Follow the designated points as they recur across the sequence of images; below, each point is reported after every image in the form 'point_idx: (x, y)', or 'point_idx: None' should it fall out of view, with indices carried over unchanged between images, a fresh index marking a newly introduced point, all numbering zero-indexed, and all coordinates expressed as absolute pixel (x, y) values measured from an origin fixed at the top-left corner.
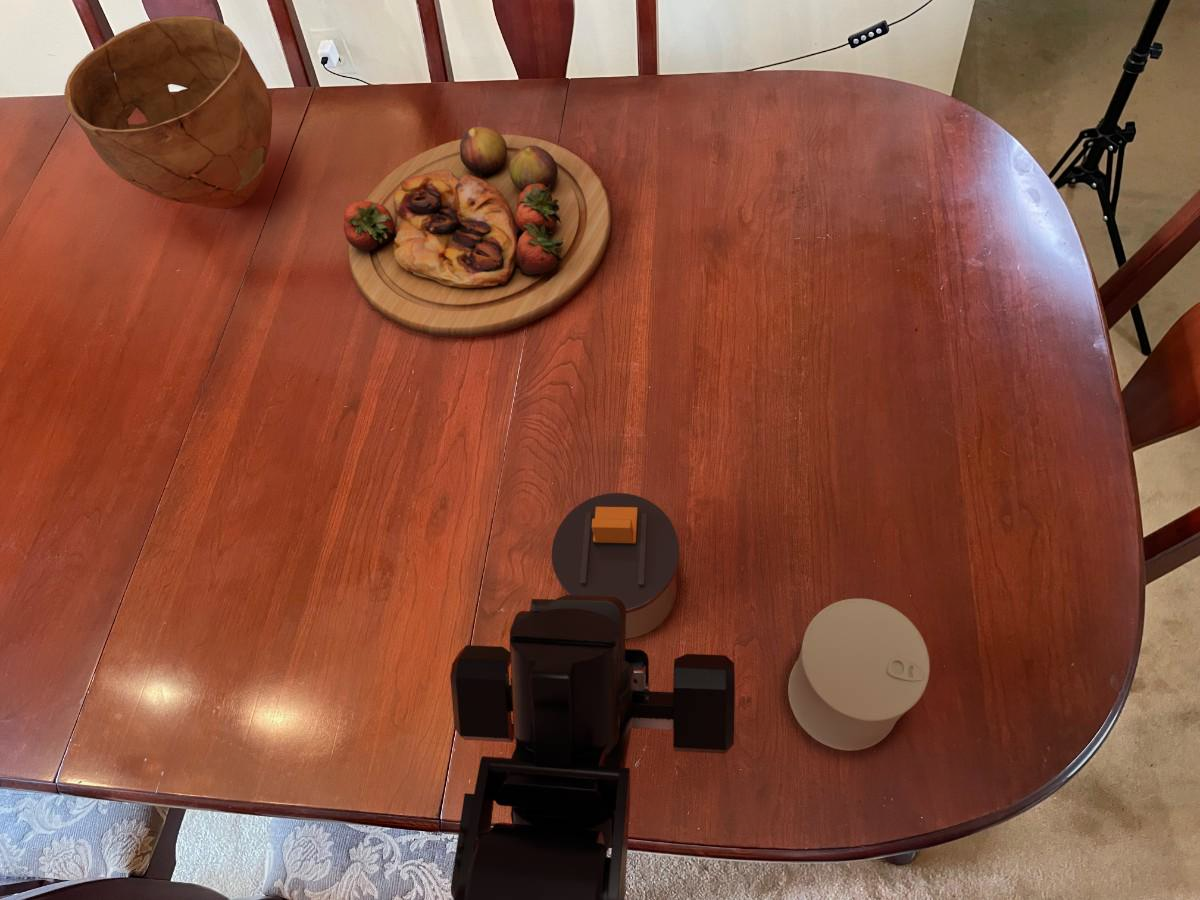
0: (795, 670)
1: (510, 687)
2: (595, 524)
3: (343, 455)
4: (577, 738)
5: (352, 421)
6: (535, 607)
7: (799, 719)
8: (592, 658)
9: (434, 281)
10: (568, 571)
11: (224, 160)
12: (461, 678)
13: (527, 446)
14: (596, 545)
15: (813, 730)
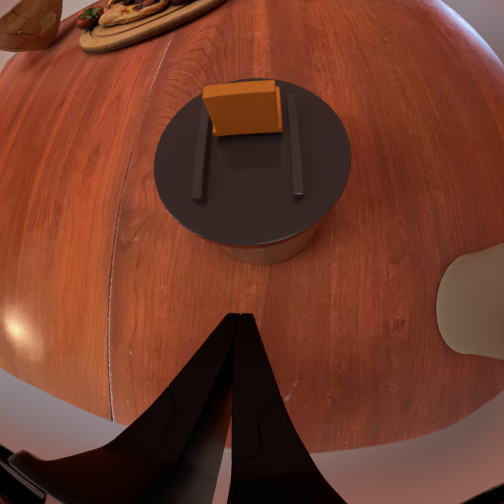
0: (467, 298)
1: (12, 485)
2: (209, 93)
3: (48, 135)
4: None
5: (58, 113)
6: None
7: (445, 336)
8: None
9: (119, 25)
10: (176, 184)
11: (31, 19)
12: None
13: (166, 91)
14: (219, 141)
15: (459, 347)
